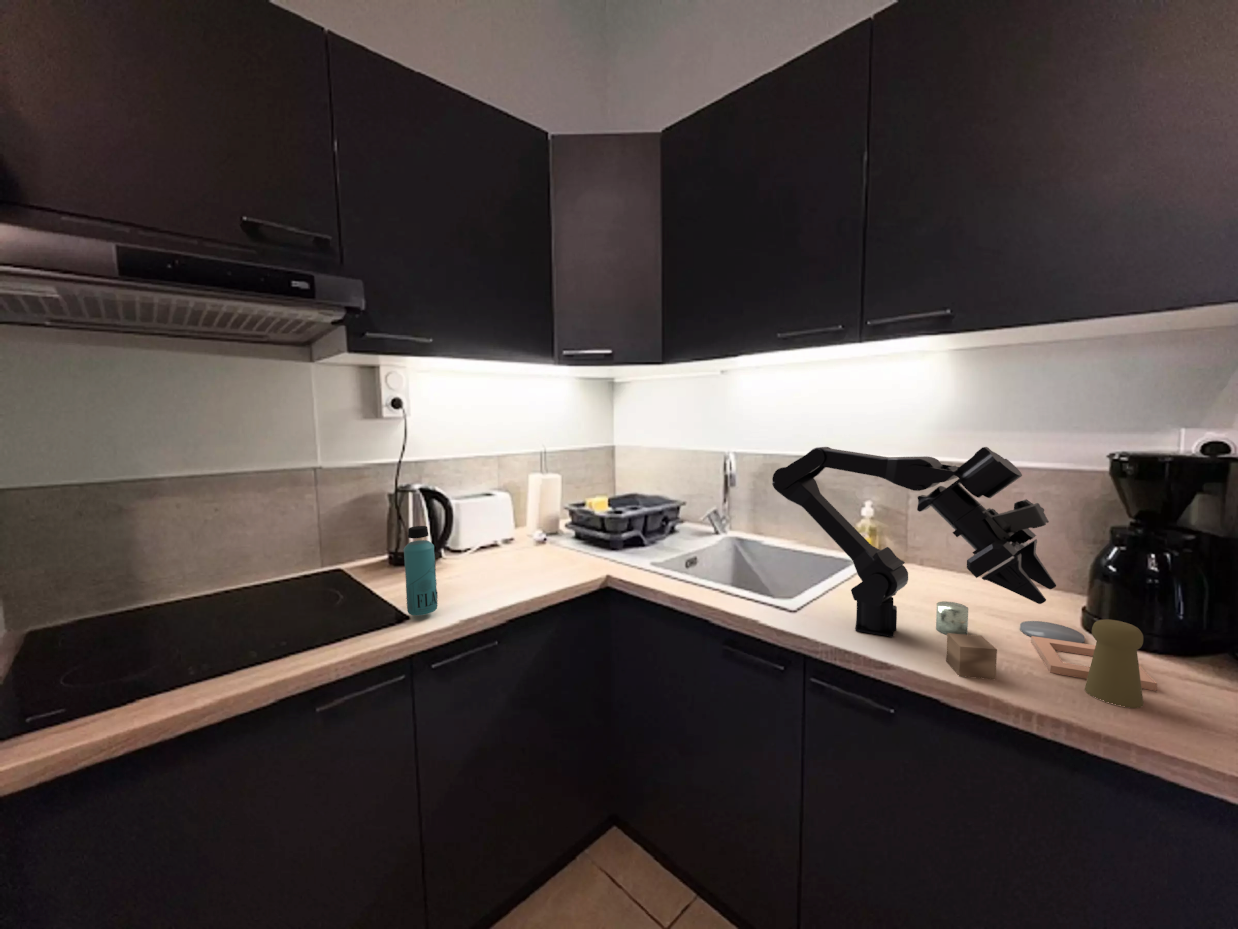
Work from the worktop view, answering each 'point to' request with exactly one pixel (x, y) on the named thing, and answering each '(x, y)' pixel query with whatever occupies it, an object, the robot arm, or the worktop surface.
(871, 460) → the robot arm
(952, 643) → the walnut block
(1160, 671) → the worktop surface
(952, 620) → the sage tin
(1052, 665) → the hole frame
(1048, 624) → the slate coaster
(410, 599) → the beverage bottle
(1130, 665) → the olive pepper mill
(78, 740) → the worktop surface
